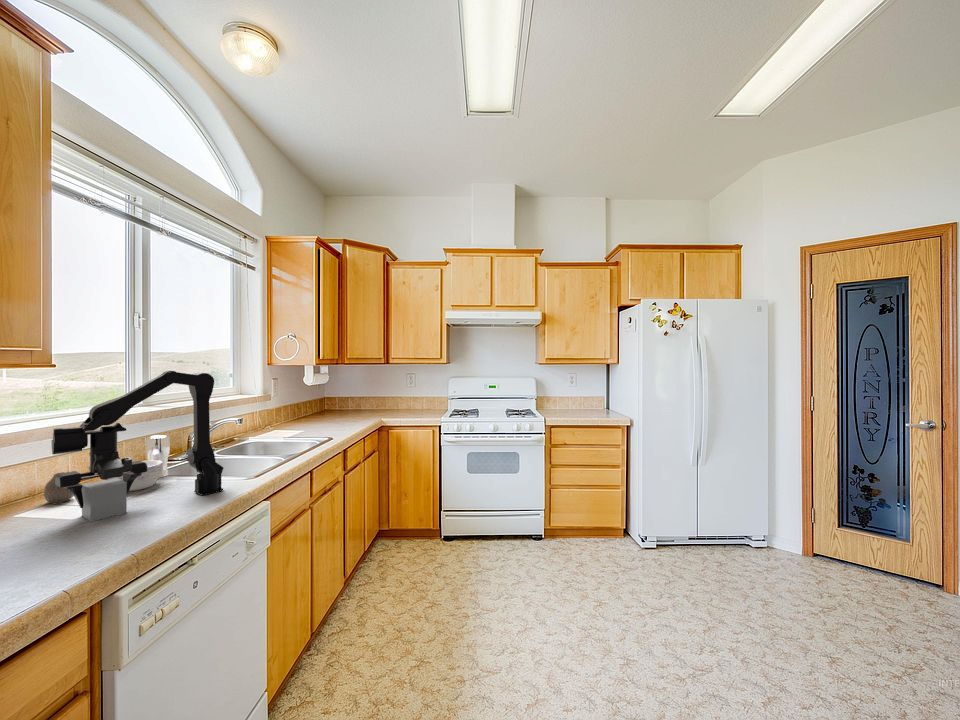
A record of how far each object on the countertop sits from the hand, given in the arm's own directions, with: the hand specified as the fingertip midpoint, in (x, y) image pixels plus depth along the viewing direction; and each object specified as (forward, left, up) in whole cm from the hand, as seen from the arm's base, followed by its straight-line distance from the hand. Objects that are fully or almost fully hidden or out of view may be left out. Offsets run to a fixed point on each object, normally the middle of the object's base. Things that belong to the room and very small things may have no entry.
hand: (103, 503), depth 117 cm
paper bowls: (-14, -23, -3) cm, 27 cm away
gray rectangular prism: (0, 0, -3) cm, 3 cm away
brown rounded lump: (+4, -25, -3) cm, 26 cm away
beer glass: (-24, -33, -3) cm, 41 cm away
